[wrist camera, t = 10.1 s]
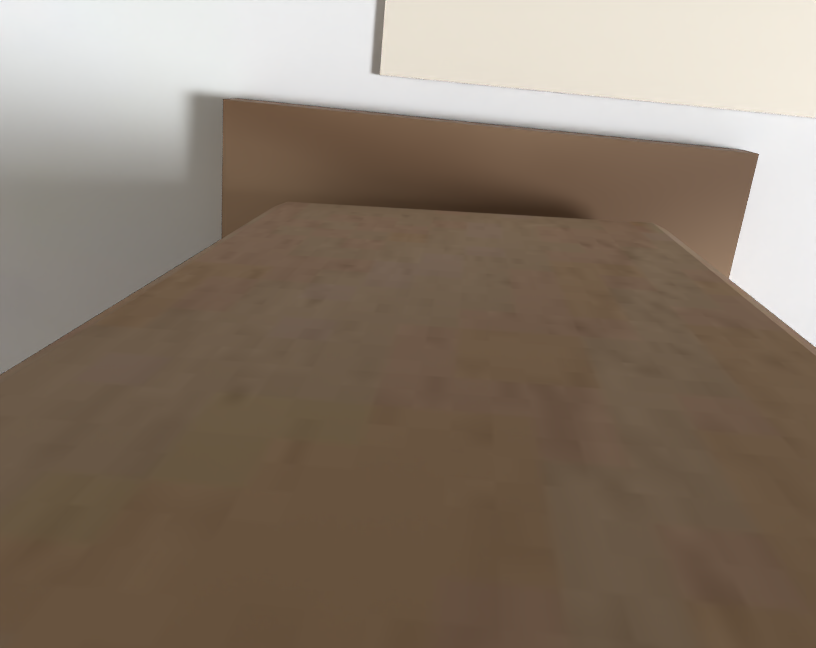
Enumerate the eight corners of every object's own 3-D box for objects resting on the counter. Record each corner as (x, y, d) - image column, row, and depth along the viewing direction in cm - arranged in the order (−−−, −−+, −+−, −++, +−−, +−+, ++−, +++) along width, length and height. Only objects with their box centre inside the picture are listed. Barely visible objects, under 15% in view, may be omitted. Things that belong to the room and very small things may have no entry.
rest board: (237, 98, 21) (223, 99, 19) (742, 149, 20) (759, 154, 19) (229, 523, 25) (218, 543, 24) (641, 578, 24) (649, 603, 23)
